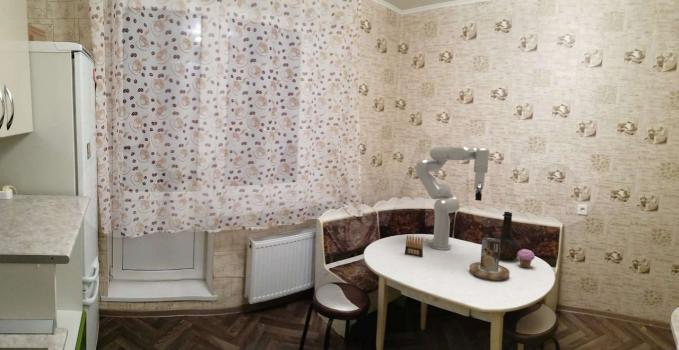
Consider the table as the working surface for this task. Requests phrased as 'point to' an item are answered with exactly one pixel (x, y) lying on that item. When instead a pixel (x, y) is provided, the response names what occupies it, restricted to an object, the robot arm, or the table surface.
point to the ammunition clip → (414, 247)
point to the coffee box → (490, 254)
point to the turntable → (489, 272)
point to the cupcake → (525, 257)
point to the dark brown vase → (508, 240)
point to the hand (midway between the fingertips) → (478, 198)
